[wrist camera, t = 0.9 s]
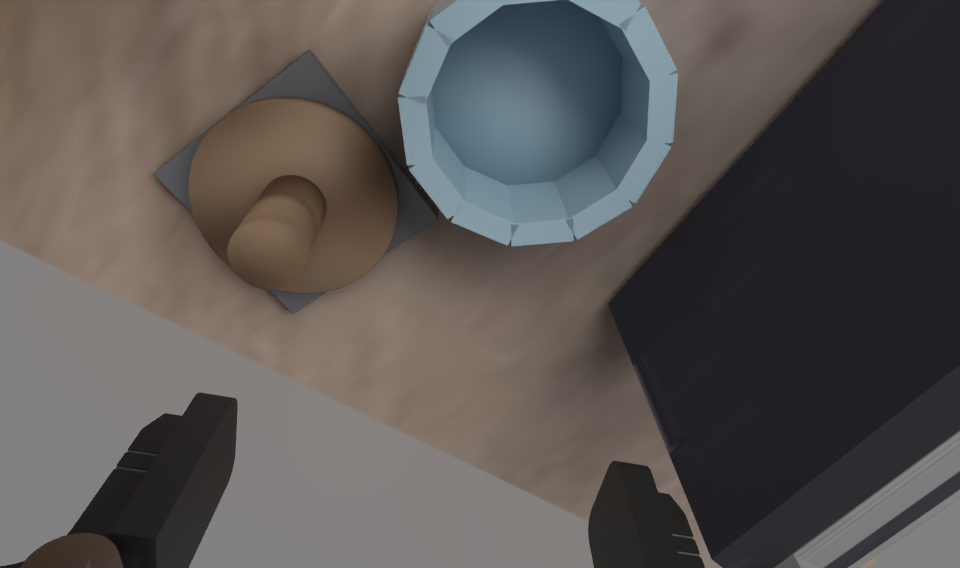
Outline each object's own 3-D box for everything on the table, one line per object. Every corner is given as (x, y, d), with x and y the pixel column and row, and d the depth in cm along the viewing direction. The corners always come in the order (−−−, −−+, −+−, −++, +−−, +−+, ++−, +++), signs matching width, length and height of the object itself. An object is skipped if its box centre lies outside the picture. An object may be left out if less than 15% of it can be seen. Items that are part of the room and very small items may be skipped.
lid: (152, 173, 28) (85, 230, 23) (307, 52, 26) (270, 85, 21) (292, 313, 32) (262, 389, 27) (437, 218, 30) (434, 281, 25)
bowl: (361, 59, 27) (343, 85, 23) (565, -98, 24) (590, -101, 20) (493, 235, 31) (500, 286, 27) (679, 118, 29) (720, 153, 24)
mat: (158, 169, 29) (152, 173, 28) (309, 49, 27) (307, 52, 26) (295, 307, 33) (292, 313, 32) (438, 213, 30) (437, 218, 30)
